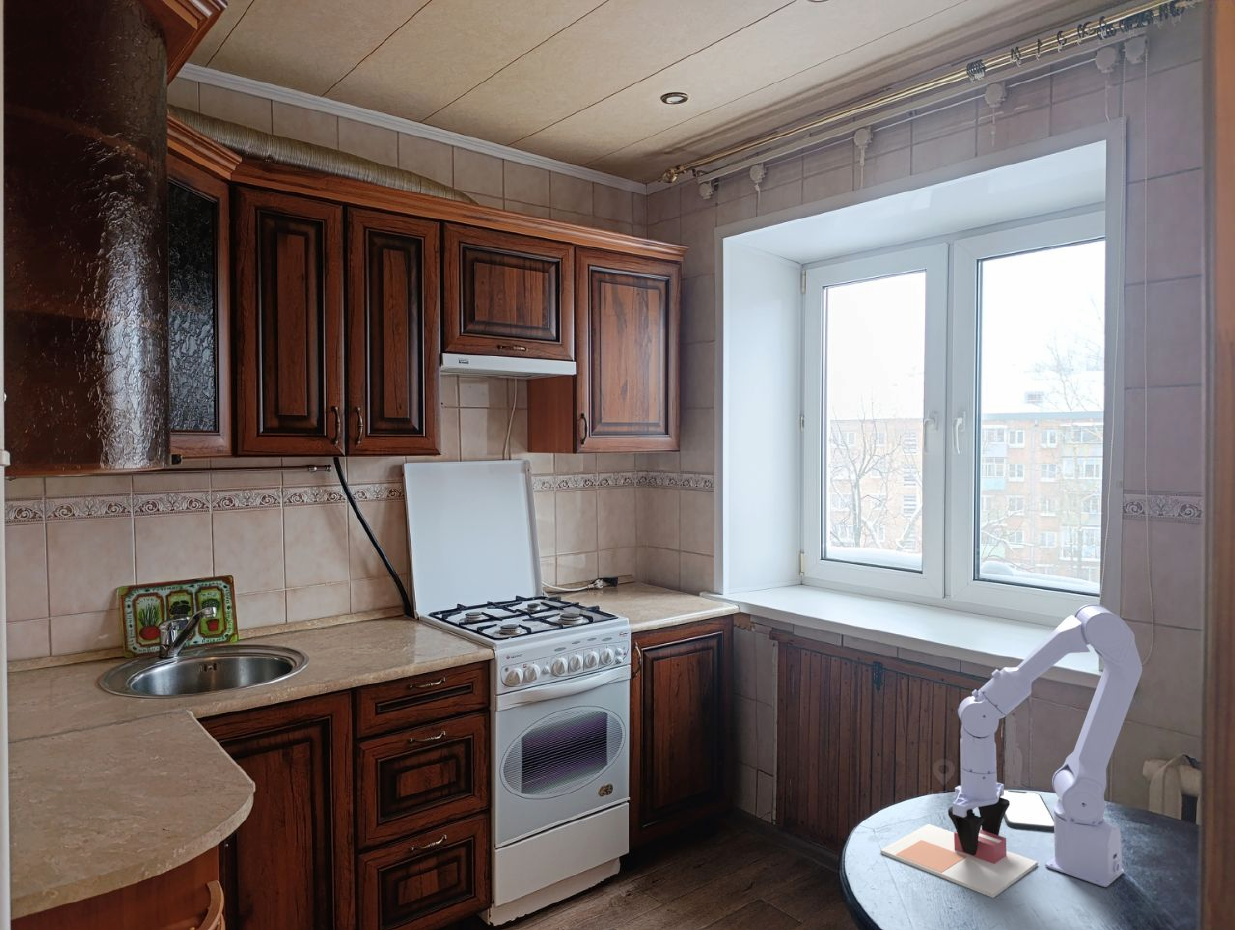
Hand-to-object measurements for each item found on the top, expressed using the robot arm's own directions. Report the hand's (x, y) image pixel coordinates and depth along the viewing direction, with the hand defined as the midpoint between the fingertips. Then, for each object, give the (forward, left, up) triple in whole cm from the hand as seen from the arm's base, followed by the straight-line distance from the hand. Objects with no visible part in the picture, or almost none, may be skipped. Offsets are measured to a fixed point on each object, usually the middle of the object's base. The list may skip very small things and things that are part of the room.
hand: (979, 846), depth 141 cm
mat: (+2, +4, -2) cm, 5 cm away
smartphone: (+3, -24, -2) cm, 24 cm away
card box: (0, 0, -1) cm, 1 cm away
